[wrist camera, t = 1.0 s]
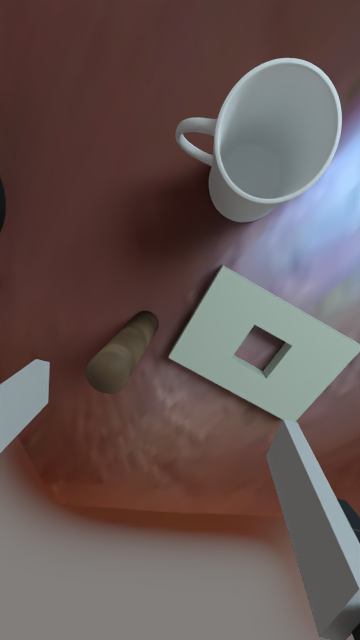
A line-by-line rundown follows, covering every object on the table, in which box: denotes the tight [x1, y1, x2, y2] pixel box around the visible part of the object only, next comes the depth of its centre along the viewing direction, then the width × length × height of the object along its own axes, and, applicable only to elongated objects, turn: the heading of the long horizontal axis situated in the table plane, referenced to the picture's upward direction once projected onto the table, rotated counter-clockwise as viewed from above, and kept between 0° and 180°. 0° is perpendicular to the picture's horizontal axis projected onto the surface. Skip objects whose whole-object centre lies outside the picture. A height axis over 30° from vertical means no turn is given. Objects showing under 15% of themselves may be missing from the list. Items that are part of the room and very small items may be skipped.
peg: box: [86, 311, 158, 394], centre depth 27 cm, size 4×4×14 cm
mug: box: [175, 58, 342, 222], centre depth 21 cm, size 12×8×12 cm
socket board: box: [168, 265, 360, 422], centre depth 32 cm, size 20×14×2 cm
